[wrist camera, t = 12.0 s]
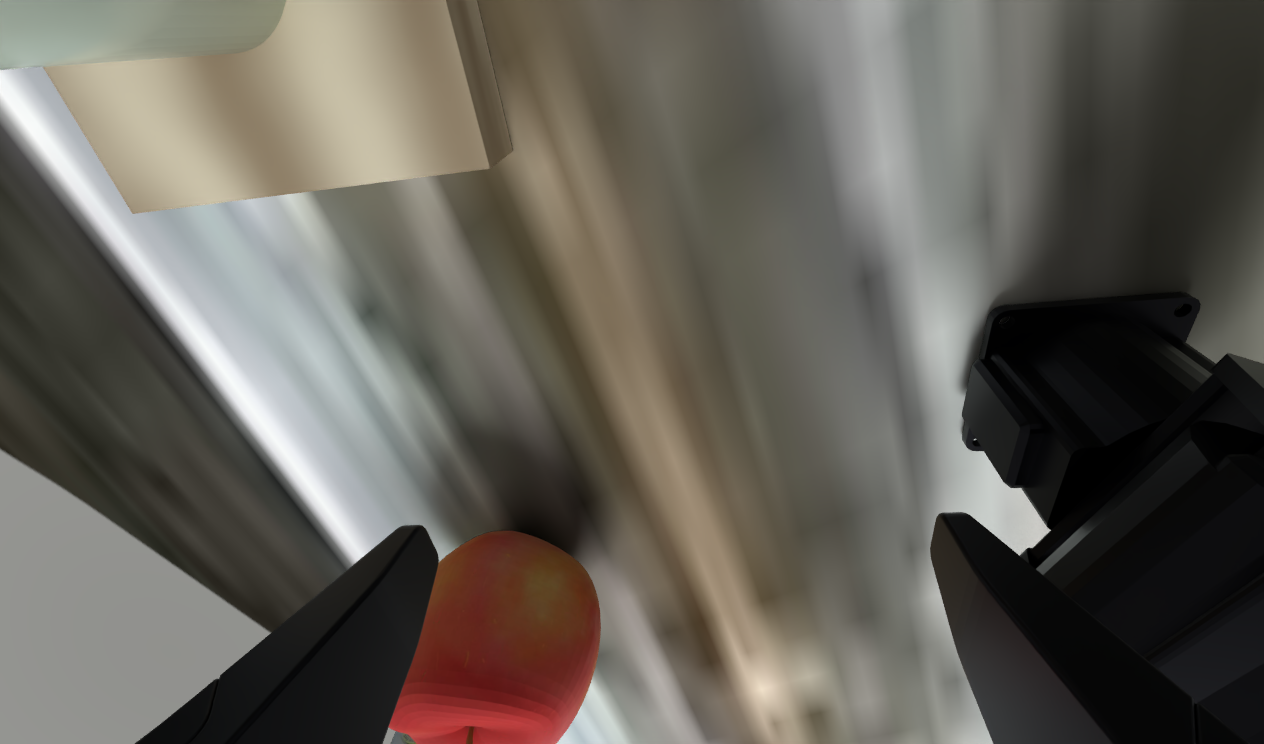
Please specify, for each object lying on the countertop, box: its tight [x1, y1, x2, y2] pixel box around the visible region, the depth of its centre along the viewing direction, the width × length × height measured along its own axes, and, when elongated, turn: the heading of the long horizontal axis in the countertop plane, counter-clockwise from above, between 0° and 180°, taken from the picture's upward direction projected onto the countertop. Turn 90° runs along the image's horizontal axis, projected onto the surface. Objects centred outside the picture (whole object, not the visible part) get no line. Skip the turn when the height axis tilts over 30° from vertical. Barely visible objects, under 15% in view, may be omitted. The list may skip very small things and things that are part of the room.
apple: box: [389, 531, 601, 744], centre depth 27 cm, size 10×10×10 cm
